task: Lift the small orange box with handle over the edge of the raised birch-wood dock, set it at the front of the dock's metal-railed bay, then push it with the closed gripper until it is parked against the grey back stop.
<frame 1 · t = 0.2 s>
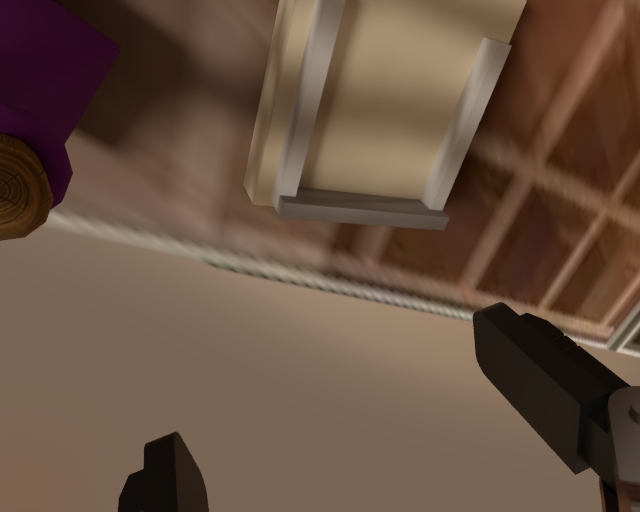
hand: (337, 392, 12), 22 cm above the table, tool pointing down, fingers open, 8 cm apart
dock: (367, 91, 32), on the table
perfume bottle: (13, 48, 25), on the table
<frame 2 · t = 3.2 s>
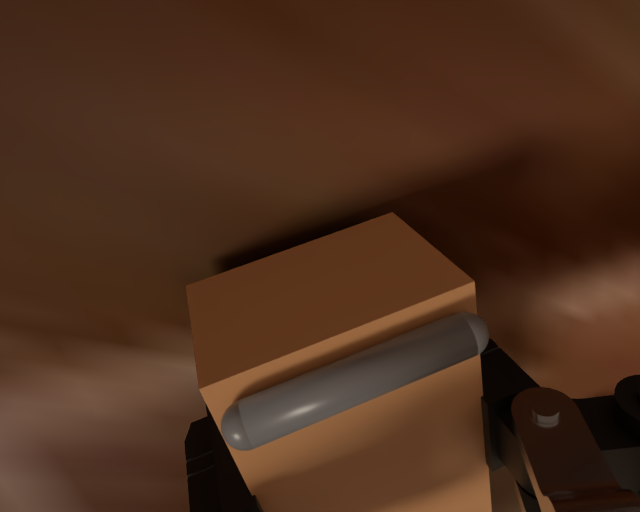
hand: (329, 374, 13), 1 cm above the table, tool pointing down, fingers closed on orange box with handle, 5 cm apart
orange box with handle: (323, 359, 14), on the table, touching gripper
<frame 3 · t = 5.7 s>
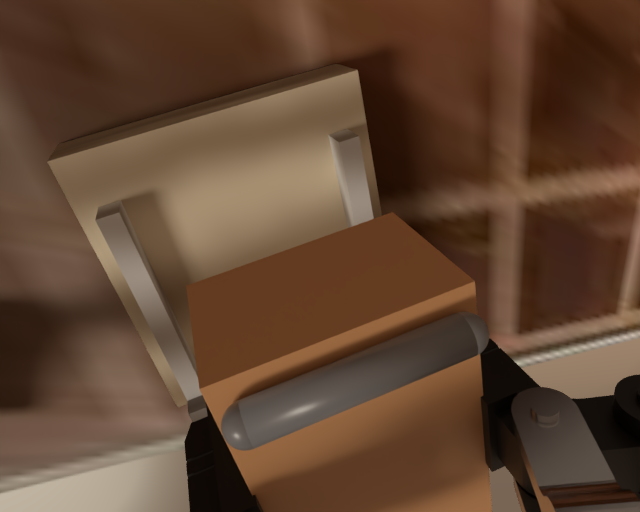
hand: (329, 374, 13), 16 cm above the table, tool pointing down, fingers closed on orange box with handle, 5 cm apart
dock: (247, 233, 28), on the table
orange box with handle: (323, 359, 14), point 15 cm above the table, touching gripper
when the fingers open (5 cm above the table, at t = 8.1 s): orange box with handle drops 1 cm, resting on dock.
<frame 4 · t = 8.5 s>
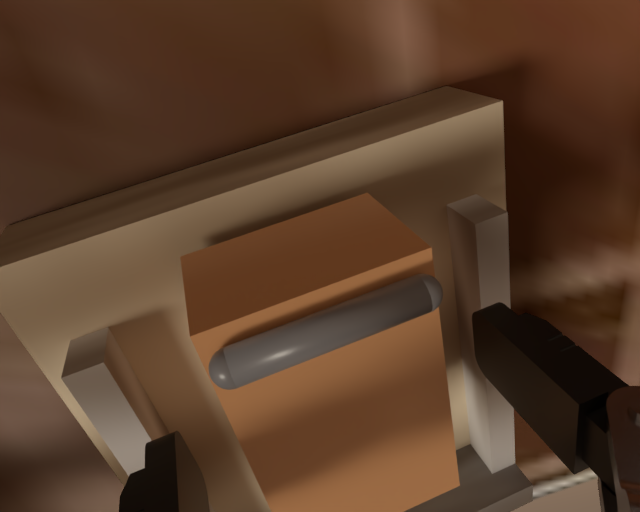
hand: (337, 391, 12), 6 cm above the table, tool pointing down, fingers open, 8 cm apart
dock: (301, 335, 19), on the table
orange box with handle: (306, 330, 15), point 3 cm above the table, touching dock
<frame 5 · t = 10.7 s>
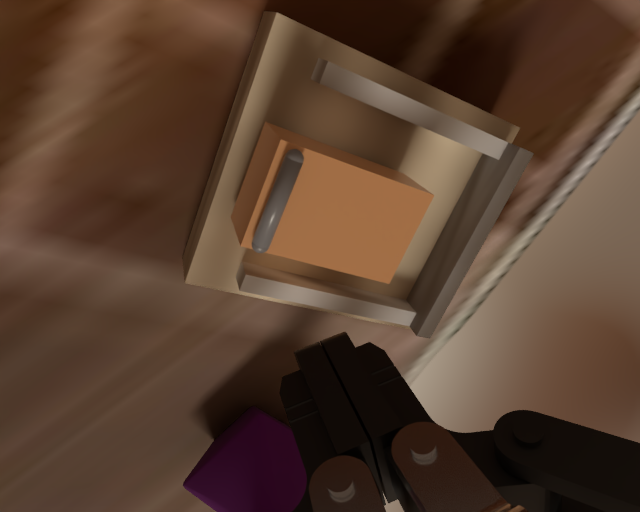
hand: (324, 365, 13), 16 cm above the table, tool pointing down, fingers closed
dock: (340, 185, 29), on the table
perfume bottle: (252, 432, 37), on the table
orange box with handle: (316, 190, 26), point 3 cm above the table, touching dock
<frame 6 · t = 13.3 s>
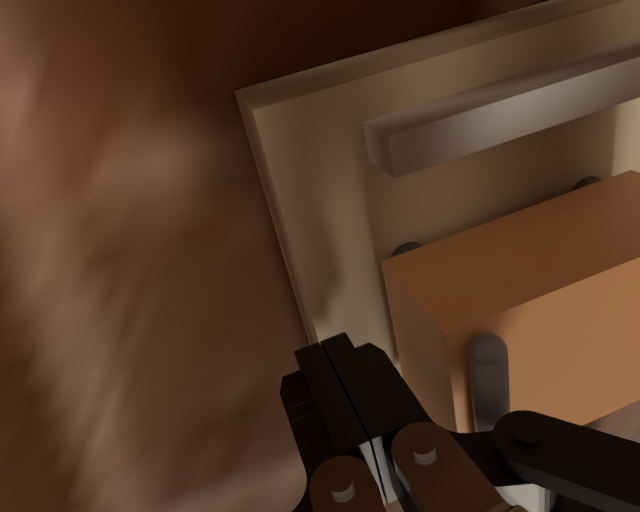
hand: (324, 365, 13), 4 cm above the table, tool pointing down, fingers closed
dock: (483, 224, 18), on the table
orange box with handle: (501, 276, 15), point 3 cm above the table, touching gripper
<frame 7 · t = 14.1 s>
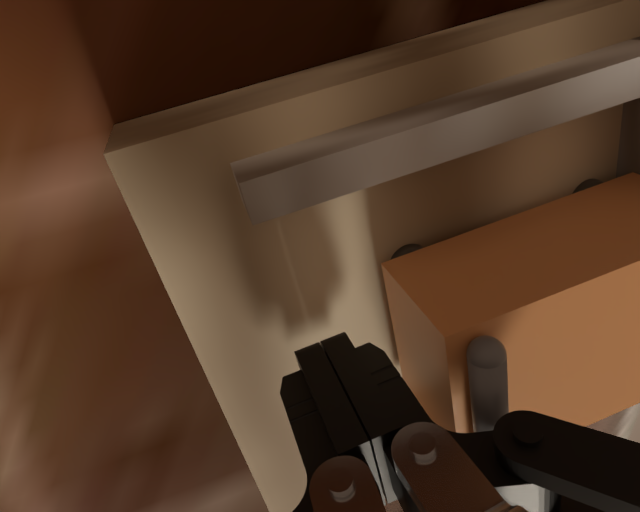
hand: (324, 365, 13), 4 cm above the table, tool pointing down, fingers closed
dock: (403, 253, 18), on the table
orange box with handle: (501, 278, 15), point 3 cm above the table, touching dock, gripper
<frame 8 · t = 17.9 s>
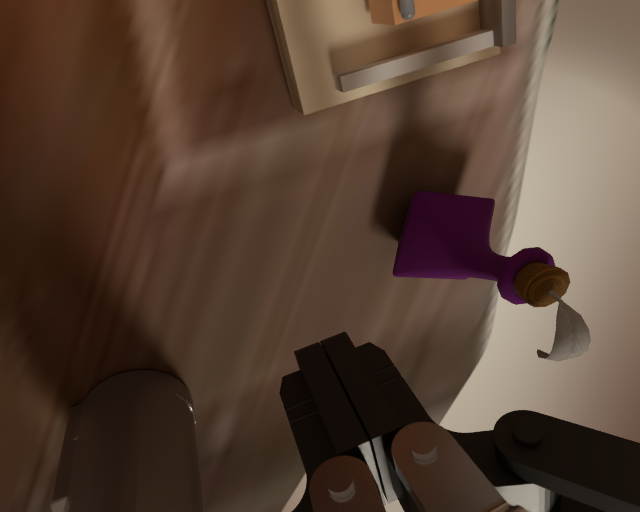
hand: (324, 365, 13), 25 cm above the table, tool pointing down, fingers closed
perfume bottle: (423, 222, 43), on the table
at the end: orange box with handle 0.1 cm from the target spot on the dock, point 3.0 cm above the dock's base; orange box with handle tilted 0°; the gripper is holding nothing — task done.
